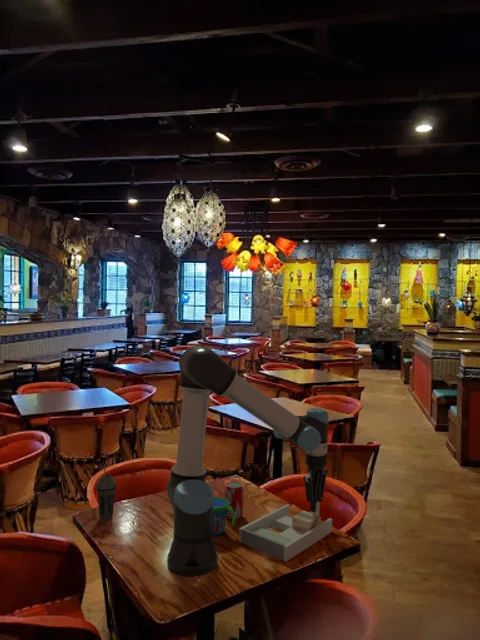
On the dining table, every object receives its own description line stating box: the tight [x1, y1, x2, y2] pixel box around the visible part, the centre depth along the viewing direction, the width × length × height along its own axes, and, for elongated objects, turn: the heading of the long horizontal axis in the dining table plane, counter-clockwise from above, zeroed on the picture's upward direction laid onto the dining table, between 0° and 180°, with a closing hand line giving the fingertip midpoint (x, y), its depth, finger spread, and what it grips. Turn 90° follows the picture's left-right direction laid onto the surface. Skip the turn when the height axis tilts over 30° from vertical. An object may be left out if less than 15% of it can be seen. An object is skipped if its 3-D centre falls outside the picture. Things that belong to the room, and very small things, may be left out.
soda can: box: [224, 481, 245, 520], centre depth 183 cm, size 7×7×12 cm
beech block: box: [291, 510, 322, 533], centre depth 169 cm, size 7×7×4 cm
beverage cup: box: [95, 464, 118, 522], centre depth 179 cm, size 7×7×20 cm
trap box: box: [238, 503, 333, 562], centre depth 168 cm, size 28×19×4 cm
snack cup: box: [212, 496, 236, 536], centre depth 171 cm, size 16×10×10 cm
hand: (314, 519), depth 174 cm, fingers closed
